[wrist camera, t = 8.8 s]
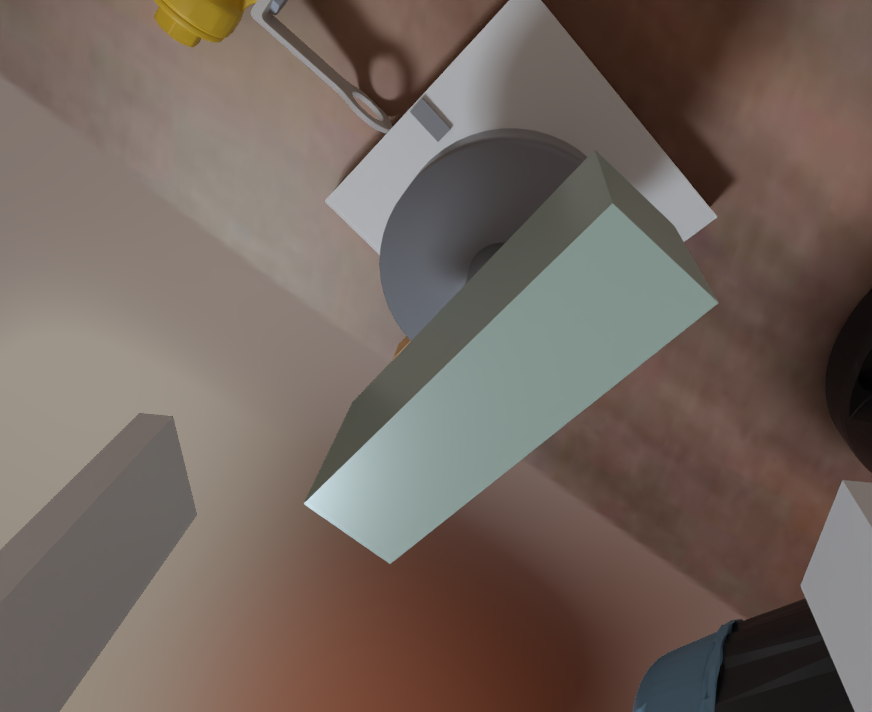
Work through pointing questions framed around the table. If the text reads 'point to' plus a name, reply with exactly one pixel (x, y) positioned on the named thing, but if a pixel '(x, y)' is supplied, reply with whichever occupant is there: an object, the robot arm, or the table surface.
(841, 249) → the table surface
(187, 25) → the pressure relief valve
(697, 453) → the table surface
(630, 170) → the base
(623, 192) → the cap
